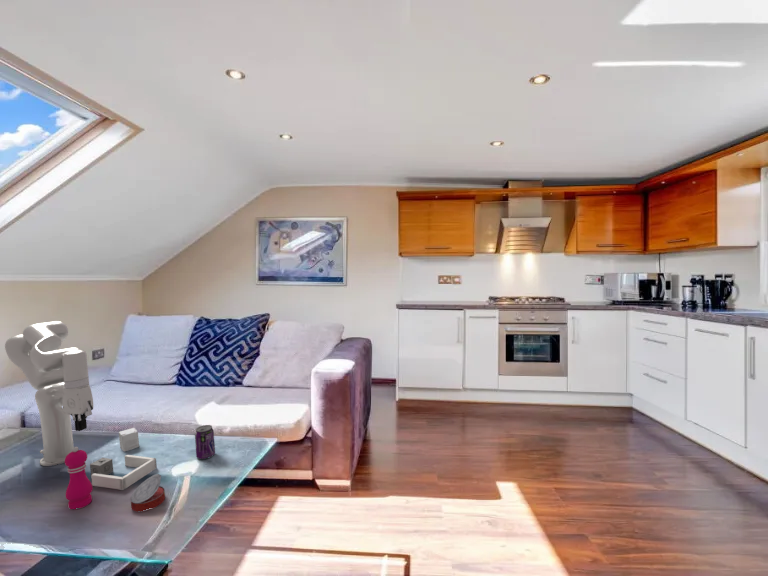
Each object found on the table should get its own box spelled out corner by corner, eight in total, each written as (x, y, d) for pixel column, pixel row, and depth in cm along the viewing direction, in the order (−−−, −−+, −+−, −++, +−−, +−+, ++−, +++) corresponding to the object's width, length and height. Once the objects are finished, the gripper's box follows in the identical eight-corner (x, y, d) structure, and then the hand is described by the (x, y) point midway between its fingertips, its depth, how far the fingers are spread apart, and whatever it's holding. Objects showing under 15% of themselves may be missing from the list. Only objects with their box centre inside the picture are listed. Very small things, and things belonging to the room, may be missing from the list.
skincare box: (135, 442, 178) (134, 427, 178) (139, 447, 174) (138, 430, 174) (119, 447, 174) (118, 431, 173) (123, 452, 170) (121, 435, 169)
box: (92, 485, 145) (91, 475, 145) (127, 464, 160) (127, 454, 159) (123, 490, 142) (122, 479, 141) (156, 468, 156) (156, 458, 156)
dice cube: (100, 478, 150) (99, 465, 149) (91, 476, 151) (89, 464, 151) (113, 471, 155) (112, 459, 154) (103, 469, 156) (102, 457, 156)
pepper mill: (76, 498, 137) (71, 442, 136) (98, 496, 138) (93, 441, 136) (61, 511, 130) (55, 452, 129) (84, 509, 131) (79, 451, 129)
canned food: (161, 518, 133) (157, 501, 128) (127, 520, 131) (122, 503, 125) (171, 486, 142) (168, 469, 137) (140, 487, 140) (135, 470, 135)
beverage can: (208, 461, 160) (206, 432, 159) (192, 459, 162) (190, 431, 161) (218, 452, 167) (216, 424, 166) (203, 451, 169) (201, 424, 168)
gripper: (51, 385, 150) (56, 432, 152) (82, 387, 146) (87, 435, 148) (71, 379, 157) (75, 424, 159) (101, 380, 154) (105, 426, 155)
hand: (81, 429), depth 153 cm, fingers closed
